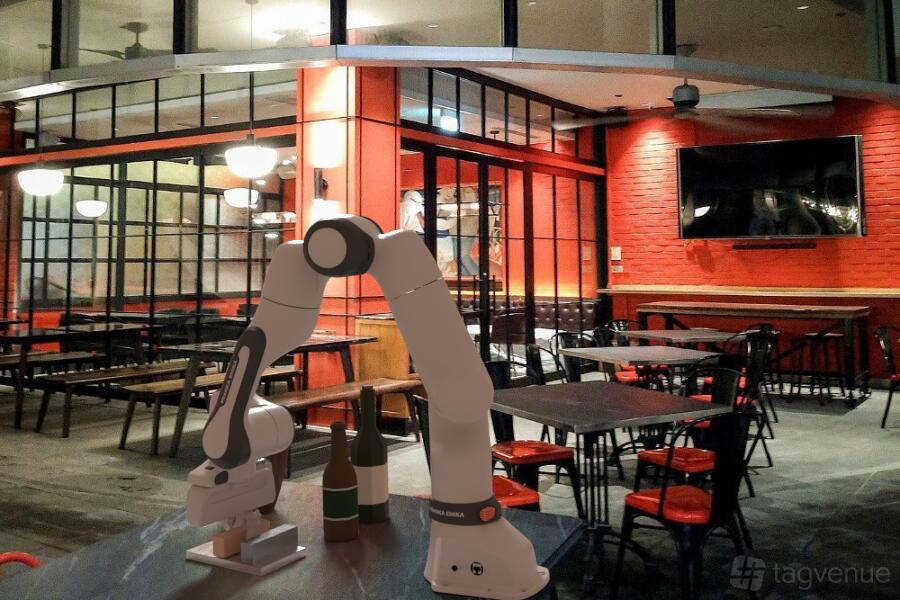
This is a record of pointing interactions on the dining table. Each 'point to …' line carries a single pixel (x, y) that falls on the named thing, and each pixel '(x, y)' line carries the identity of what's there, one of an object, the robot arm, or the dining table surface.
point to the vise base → (236, 559)
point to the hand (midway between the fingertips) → (234, 536)
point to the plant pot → (275, 477)
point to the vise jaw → (234, 539)
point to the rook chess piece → (252, 523)
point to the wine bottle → (370, 463)
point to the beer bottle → (339, 490)
